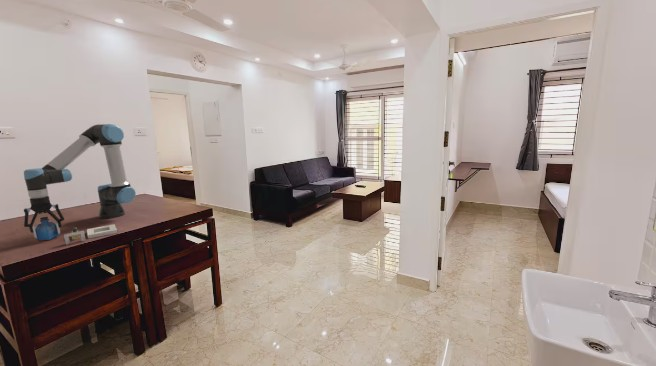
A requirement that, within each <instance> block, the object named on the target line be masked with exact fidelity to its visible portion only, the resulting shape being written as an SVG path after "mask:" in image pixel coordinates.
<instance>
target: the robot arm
mask: <svg viewBox="0 0 656 366" xmlns="http://www.w3.org/2000/svg"><path fill="white" fill-rule="evenodd" d="M124 137H125V132H124V131H123V129H122V128H121V127H120V126H119V125H116V124H110V123H107V124H105V123H103V124H101V123H100V124H99V123H98V124H95V125H92V126H90V127H89V128H87V129H86V130H85V131H83V132H82V133H81V134H80V135H78V139H76V140H75V141H74V142H73V143H71V144H70V145H69V146H68V147H66V148H64V150H63V151H62V152H60V153H59V154H57V155H56V156H55V157H54V158H53V159H51V160H50V161H49V162H48V163H47V164H45V165H44V166H43V167H41V168H29V169H25V170H24V171H23V179H24V181H25V184H26V188H27V192H28V197H29V203H30V207H28V208H27V207H26V208H24V209H23V212H24V221H23V223H24V224H23V227H24V228H29V231H30V233H32V234H33V236H34V239H37V235H36V231H35V229H36V226H35V225H34V224H35V221H36V220H37V219H36V218H37V217H38V215H41V214H46V213H47V214H49V215H50V217H51V218H52V219H54V221H56V222H55V224H56V226H57V231H58V234H59V235H60V234H61V230H60V228H62V222H63V221H65V217H64V216H63V213H62V211H61V210H60V207H59V203H56V204H52V203H51V200H50V196H49V192H48V187H47V185H53V184H60V183H66V182H70V181H72V180H73V174H72V172H71V171H70V169H68V168H67V167H68V166H70V165H71V164H72V163H73V162H75V160H77V158H79V157H81V155H83V154H84V153H85V152H86V151H88V149H89V148H91V147H95V146H96V145H97V144H99V146H100V147H101V148H103V149H104V154H105V159H106V163H107V169H108V174H109V177H110V181H111V183H108V184H102V185H98V186H97V193H98V199H99V205H100V208H99V212H98V218H99V219H113V218H118V217H122V216H124V215H125V214H126V211H125V208H124V206H123V205H122V204H129V203H131V202H133V200H134V199H135V198H136V196H137V195H136V194H137V193H136V190H135V188H134V187H131V182H130V181H128V180H127V176H126V170H125V166H124V161H123V157H122V151H121V146H122V145H123V143H122V141H123V139H124ZM52 207H53V209H55V211H56V213H57V214H58V216H59V217H58V216H57V215H56V214H55V213H54V212H53V211H52V210H51V208H52ZM31 211H32V212H34V214H33V217H32V219H31V221H30V222H29V213H30V212H31Z"/></svg>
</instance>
